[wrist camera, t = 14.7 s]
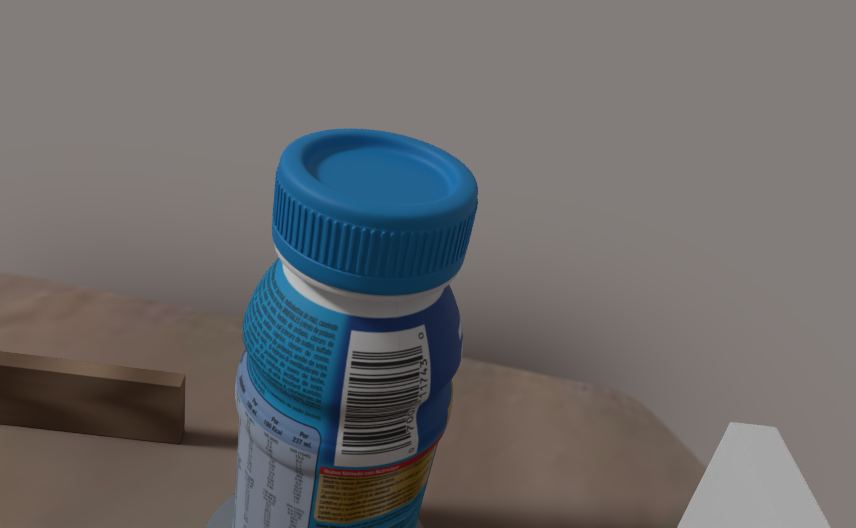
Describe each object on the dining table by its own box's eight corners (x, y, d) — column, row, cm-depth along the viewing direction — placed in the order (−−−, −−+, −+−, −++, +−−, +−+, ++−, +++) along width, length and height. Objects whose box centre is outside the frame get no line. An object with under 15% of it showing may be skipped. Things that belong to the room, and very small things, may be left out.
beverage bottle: (185, 593, 32) (194, 170, 22) (282, 463, 39) (322, 97, 29) (365, 677, 31) (465, 261, 20) (432, 525, 38) (531, 160, 27)
